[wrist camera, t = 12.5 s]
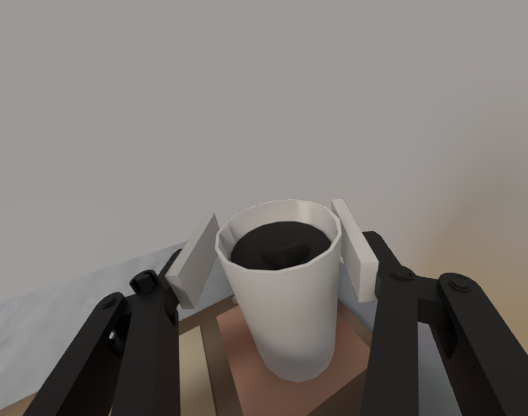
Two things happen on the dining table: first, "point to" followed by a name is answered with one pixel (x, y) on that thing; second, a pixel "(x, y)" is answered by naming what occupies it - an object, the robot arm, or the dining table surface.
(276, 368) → the white coffee cup
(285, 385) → the tile board
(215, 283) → the dining table surface
